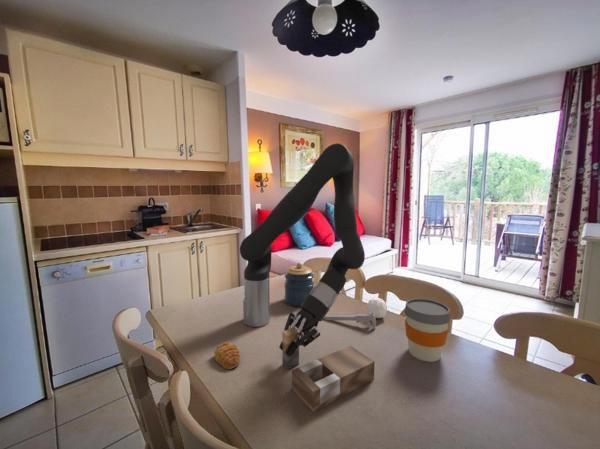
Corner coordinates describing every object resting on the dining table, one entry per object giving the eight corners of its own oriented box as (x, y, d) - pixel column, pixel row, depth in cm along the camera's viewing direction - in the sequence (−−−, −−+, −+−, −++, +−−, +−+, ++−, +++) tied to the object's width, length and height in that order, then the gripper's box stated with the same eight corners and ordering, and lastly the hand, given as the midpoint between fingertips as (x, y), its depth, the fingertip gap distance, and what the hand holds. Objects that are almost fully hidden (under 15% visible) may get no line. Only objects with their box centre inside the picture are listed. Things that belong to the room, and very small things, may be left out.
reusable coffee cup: (402, 360, 82) (405, 311, 80) (402, 338, 94) (404, 296, 92) (450, 369, 78) (454, 318, 76) (444, 346, 90) (447, 301, 88)
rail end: (287, 369, 78) (287, 335, 77) (282, 364, 80) (282, 331, 79) (299, 364, 80) (299, 331, 79) (294, 359, 82) (294, 327, 81)
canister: (283, 296, 131) (283, 259, 129) (311, 295, 132) (311, 258, 130) (285, 307, 118) (285, 267, 116) (315, 306, 119) (316, 266, 117)
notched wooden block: (312, 412, 63) (313, 391, 62) (291, 388, 70) (291, 370, 70) (373, 379, 74) (374, 361, 73) (349, 361, 81) (350, 345, 81)
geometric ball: (375, 320, 113) (379, 301, 116) (389, 322, 106) (393, 301, 109) (360, 313, 110) (365, 294, 114) (374, 314, 103) (378, 293, 107)
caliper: (375, 328, 101) (376, 312, 101) (375, 330, 100) (375, 313, 100) (322, 318, 109) (322, 303, 108) (321, 319, 108) (321, 304, 107)
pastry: (246, 365, 80) (246, 352, 79) (223, 374, 76) (222, 361, 75) (233, 349, 87) (233, 338, 87) (212, 357, 84) (211, 345, 83)
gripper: (299, 287, 87) (264, 335, 82) (327, 302, 76) (289, 359, 71) (312, 299, 91) (280, 346, 86) (341, 315, 80) (306, 371, 74)
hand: (284, 352), depth 78 cm, fingers closed on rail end, 2 cm apart
